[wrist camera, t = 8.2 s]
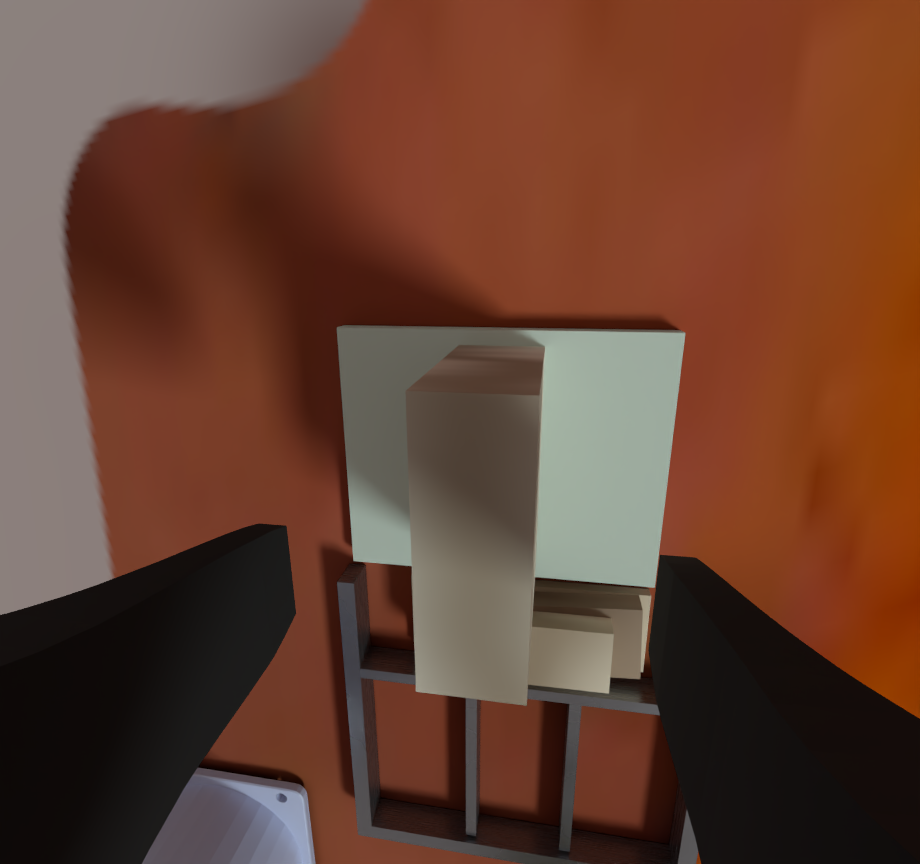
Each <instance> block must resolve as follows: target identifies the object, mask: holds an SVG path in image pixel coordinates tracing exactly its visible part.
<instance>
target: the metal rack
mask: <svg viewBox="0 0 920 864" xmlns="http://www.w3.org/2000/svg"><path fill="white" fill-rule="evenodd" d="M337 588H338V600H339V612H340V624H341V636H342V648H343V660H344V672H345V684H346V695H347V707H348V719H349V731H350V743H351V755H352V767H353V779H354V791H355V803H356V815H357V827H358V835H362V836H368V837H374V838H379V839H385V840H391V841H397V842H402V843H408V844H414V845H420V846H425V847H431V848H437V849H442V850H448V851H454V852H460V853H465V854H471V855H477V856H483V857H488V858H494V859H500V860H506V861H511V862H517V863H523V864H696V860H697V854H698V847H697V843H696V839H695V836H694V832H693V829H692V825H691V822H690V818H689V815H688V811H687V808H686V804H685V801H684V798H683V794H682V791H681V787H680V784H679V783H678V789H677V796H676V802H675V809H674V815H673V821H672V828H671V834H670V841H669V845H666V844H660V843H654V842H648V841H642V840H636V839H629V838H623V837H617V836H611V835H605V834H598V833H592V832H586V831H580V830H574V829H572V818H573V805H574V793H575V780H576V768H577V755H578V743H579V730H580V718H581V705H582V706H590V707H598V708H606V709H614V710H622V711H630V712H638V713H646V714H654V715H660V713H659V710H658V706H657V702H656V696H655V690H654V684H653V678H644V677H640V679H628V678H613V677H610V686H609V694H608V693H599V692H590V691H581V690H572V689H563V688H554V687H545V686H537V685H528V693H527V699H534V700H542V701H550V702H558V703H566V704H567V716H566V730H565V745H564V759H563V773H562V788H561V802H560V817H559V827H555V826H549V825H543V824H536V823H530V822H524V821H518V820H512V819H506V818H499V817H493V816H487V815H481V814H479V805H480V700H479V699H471V698H466V812H462V811H456V810H450V809H444V808H437V807H431V806H425V805H419V804H413V803H406V802H400V801H394V800H388V799H382V798H381V795H380V780H379V764H378V749H377V733H376V718H375V702H374V687H373V679H374V680H382V681H390V682H398V683H406V684H414V685H416V674H415V651H409V650H400V649H391V648H382V647H374V646H371V641H370V625H369V610H368V594H367V579H366V565H360V564H349V565H348V567H347V568H346V570H345V571H344V573H343V574H342V576H341V577H340V578H339V580H338V581H337Z"/></svg>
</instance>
